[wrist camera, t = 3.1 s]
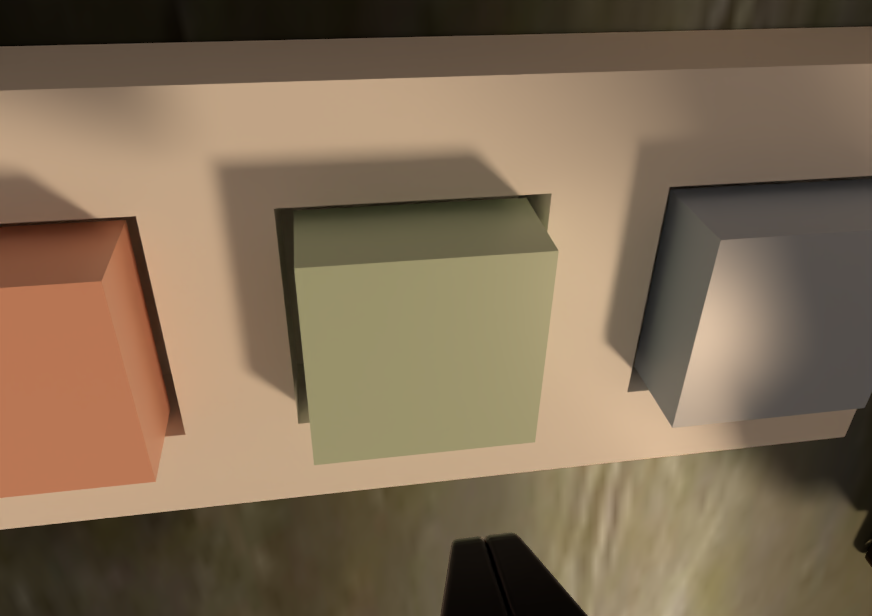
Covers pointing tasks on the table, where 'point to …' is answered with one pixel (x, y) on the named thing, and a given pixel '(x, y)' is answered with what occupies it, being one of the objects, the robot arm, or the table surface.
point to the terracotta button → (76, 362)
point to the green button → (422, 326)
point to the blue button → (761, 303)
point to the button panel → (398, 185)
